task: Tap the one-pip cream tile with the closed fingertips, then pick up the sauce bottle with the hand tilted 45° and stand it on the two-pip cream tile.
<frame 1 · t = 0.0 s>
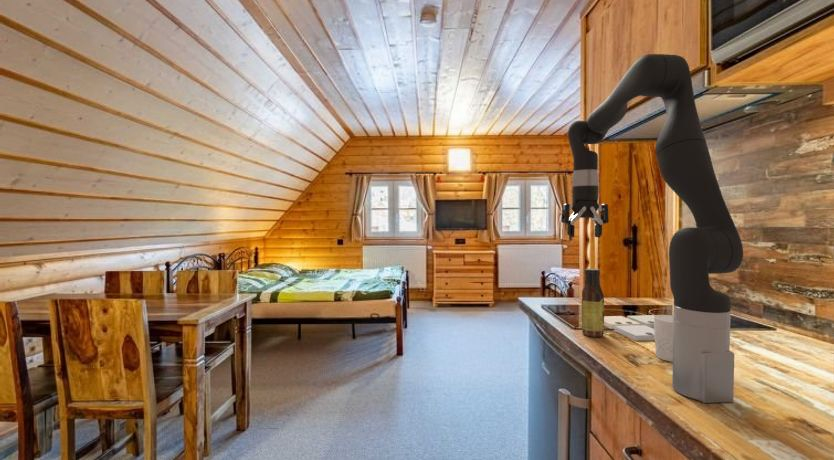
hand: (584, 237, 123), 29 cm above the countertop, tool pointing down, fingers open, 8 cm apart
tile three: (650, 323, 131), on the countertop
sauce bottle: (592, 335, 118), on the countertop
tile two: (616, 324, 130), on the countertop
white cup: (671, 358, 99), on the countertop
tile one: (640, 335, 118), on the countertop
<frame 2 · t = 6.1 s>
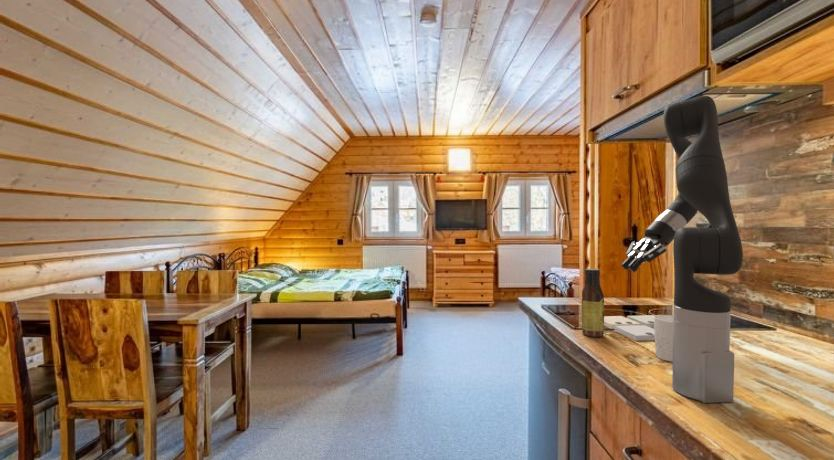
hand: (627, 268, 119), 20 cm above the countertop, tool tilted 45°, fingers closed
nothing on the countertop moved.
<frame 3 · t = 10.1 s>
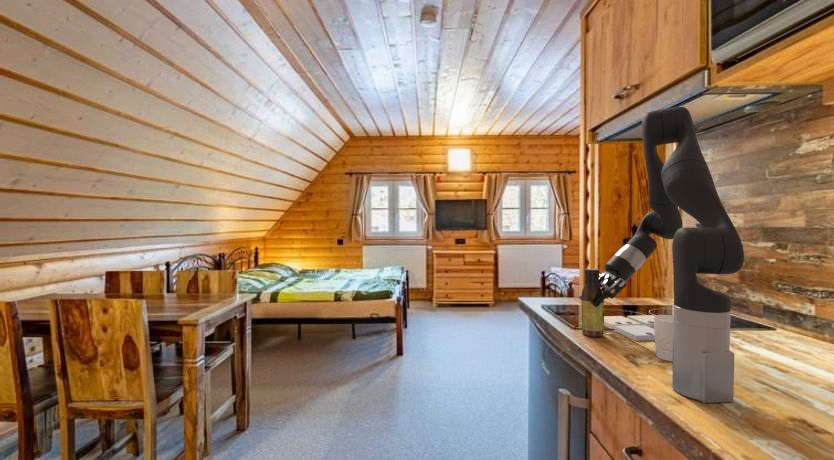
hand: (587, 302, 118), 10 cm above the countertop, tool tilted 45°, fingers closed on sauce bottle, 6 cm apart
sauce bottle: (592, 335, 118), on the countertop, touching gripper
everything else where it was.
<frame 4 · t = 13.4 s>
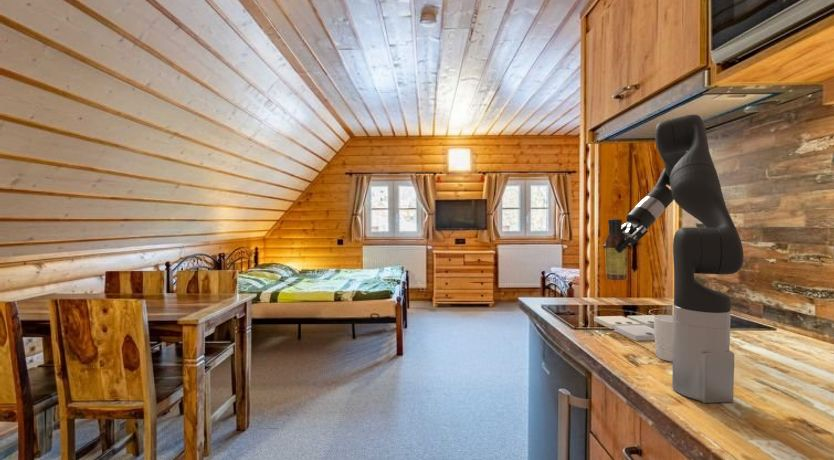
hand: (611, 249, 129), 25 cm above the countertop, tool tilted 45°, fingers closed on sauce bottle, 6 cm apart
sauce bottle: (615, 279, 129), point 15 cm above the countertop, touching gripper
everything else where it was.
when the fingers open (12 cm above the countertop, at t = 16.2 s): sauce bottle drops 1 cm, resting on tile two.
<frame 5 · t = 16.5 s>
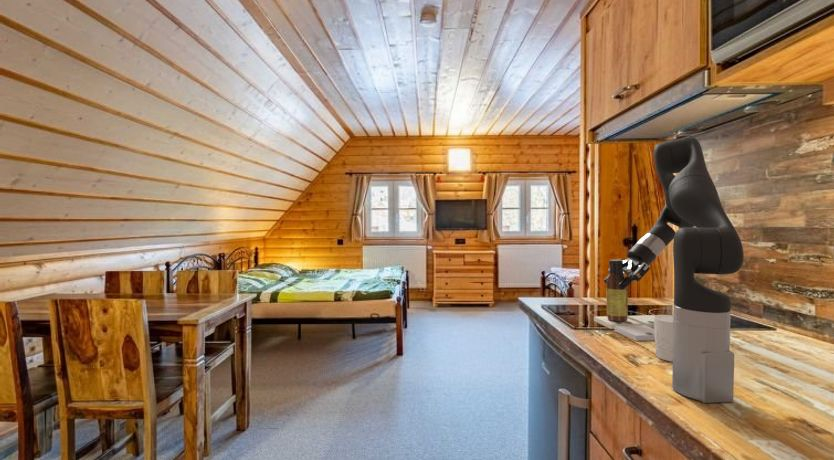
hand: (613, 285, 129), 13 cm above the countertop, tool tilted 45°, fingers open, 8 cm apart
sauce bottle: (616, 320, 130), point 1 cm above the countertop, touching tile two
everything else where it was.
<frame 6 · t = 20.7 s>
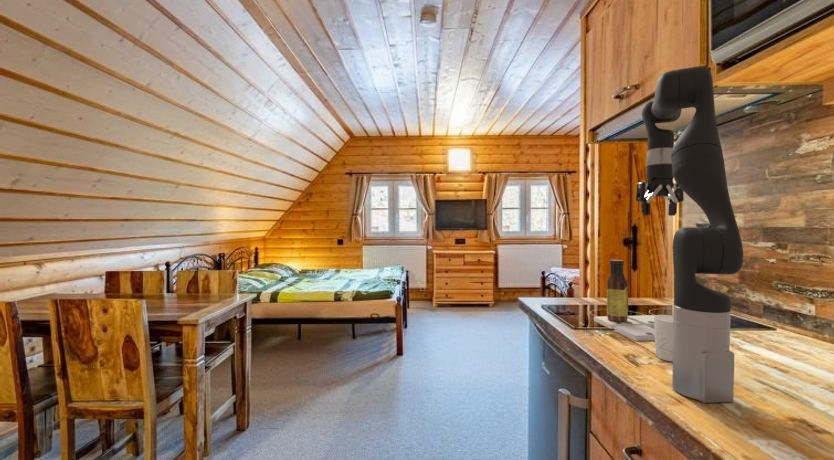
hand: (659, 215, 124), 36 cm above the countertop, tool pointing down, fingers open, 8 cm apart
nothing on the countertop moved.
at the end: sauce bottle 0.1 cm from the tile two (horizontally); sauce bottle tilted 0°; the gripper is holding nothing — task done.
